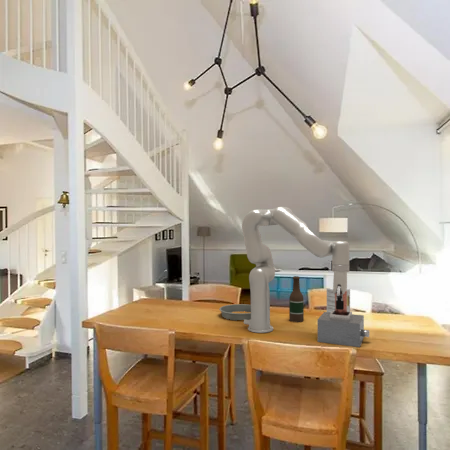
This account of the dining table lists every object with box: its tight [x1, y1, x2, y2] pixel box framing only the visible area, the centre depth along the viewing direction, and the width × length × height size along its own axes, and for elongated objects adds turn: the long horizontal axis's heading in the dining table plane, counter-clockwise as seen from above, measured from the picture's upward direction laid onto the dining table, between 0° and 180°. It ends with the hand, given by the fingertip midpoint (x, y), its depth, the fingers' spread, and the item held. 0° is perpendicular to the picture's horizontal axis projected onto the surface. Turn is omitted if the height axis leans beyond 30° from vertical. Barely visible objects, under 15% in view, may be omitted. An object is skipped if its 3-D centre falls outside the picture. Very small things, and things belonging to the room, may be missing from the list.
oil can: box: [335, 291, 347, 315], centre depth 175 cm, size 5×5×15 cm
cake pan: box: [219, 303, 251, 321], centre depth 220 cm, size 25×25×4 cm
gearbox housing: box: [316, 310, 370, 348], centre depth 174 cm, size 21×16×12 cm
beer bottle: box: [288, 275, 305, 323], centre depth 208 cm, size 8×8×24 cm
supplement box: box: [326, 287, 351, 312], centre depth 211 cm, size 10×9×17 cm
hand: (340, 307), depth 175 cm, fingers closed on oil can, 5 cm apart
